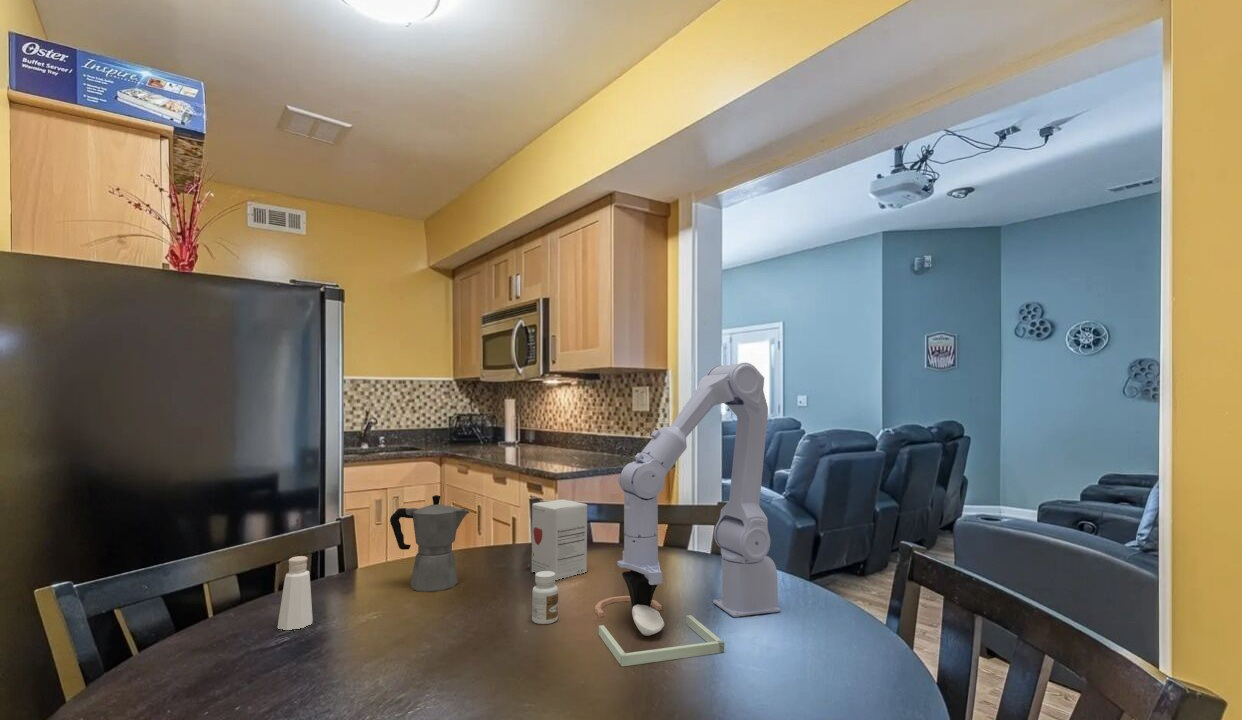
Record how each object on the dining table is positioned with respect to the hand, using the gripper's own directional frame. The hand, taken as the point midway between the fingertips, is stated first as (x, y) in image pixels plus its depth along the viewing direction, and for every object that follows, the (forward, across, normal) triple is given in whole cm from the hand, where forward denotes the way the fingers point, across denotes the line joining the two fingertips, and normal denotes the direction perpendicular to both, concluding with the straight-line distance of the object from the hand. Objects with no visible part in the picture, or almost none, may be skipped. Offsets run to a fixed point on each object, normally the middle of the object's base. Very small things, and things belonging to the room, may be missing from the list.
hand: (641, 616), depth 99 cm
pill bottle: (+1, -7, -15) cm, 16 cm away
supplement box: (+2, -34, -7) cm, 34 cm away
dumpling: (+1, +4, 0) cm, 4 cm away
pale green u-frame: (+1, +8, 0) cm, 8 cm away
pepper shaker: (+1, -16, -55) cm, 57 cm away
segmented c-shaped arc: (+1, -9, 0) cm, 9 cm away
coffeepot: (+2, -33, -34) cm, 47 cm away
